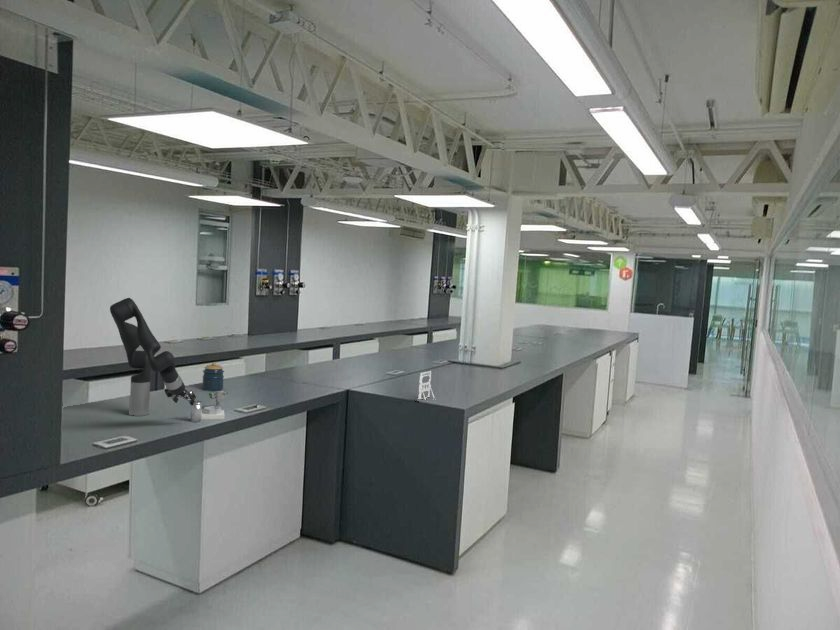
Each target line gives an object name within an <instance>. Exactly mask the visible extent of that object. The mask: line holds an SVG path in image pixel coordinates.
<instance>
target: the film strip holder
mask: <svg viewBox="0 0 840 630" xmlns="http://www.w3.org/2000/svg"><path fill="white" fill-rule="evenodd" d="M424 377H428V378H429V379H428V381H427V382H423V378H424ZM431 381H432V370H429V371H424V372H420V374H419V385H418V395H417V397H418V398H417V399H423V398H424V399H425V400H426V398H427V397H430V396H431V395H432V398H433V399H434V398H435V395H434V393H433V389H432V384H431V383H432V382H431ZM425 392H427V396H426V395H425ZM422 395H423V397H422ZM427 399H428V398H427Z"/></svg>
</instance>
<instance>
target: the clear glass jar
mask: <svg viewBox="0 0 840 630" xmlns="http://www.w3.org/2000/svg"><path fill="white" fill-rule="evenodd" d="M194 402H195V403H194V404H193V405H190V406H191V407H190V422H191V423H201V422H202V419H201V412H202V408H203V405H202V404H203V401H201V400H194ZM200 421H201V422H200Z"/></svg>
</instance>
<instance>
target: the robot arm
mask: <svg viewBox="0 0 840 630" xmlns="http://www.w3.org/2000/svg"><path fill="white" fill-rule="evenodd" d="M109 312H110V314H111V317H112V318H113V321H114V323H115V325H116V328H117V329H118V333H119V337H120V340H121V342H122V345H123V348H124V350H125V353H126V358H127V362H128V366H129V367H130V368H132V369H138V370H139V369H142V370H143V371H141V372H140V373H137V374H133V375H131V377H130V394H129V404H128V409H129V410H128V415H129V416H133V415H134V416H135V417H136V416H137V417H142V416H147V415H149V414H150V396H151V394H150V393H151V375H152V371H153V372H155V373H159V375H160V377H161V379H162V381H163V382H164V385H165V389H164V393H165V395H166V397H167V398H171V399H172V401H173V402H174V403H175V404H177V403H178V401H179V398H182V399H184V400H185V401H188V403H189V404H190V405H189V406H191V405H193V404H194V403H195V402H194V401H196V398H197V396H196V394H195V393H194V391H193V390H192V389H190V390H187V389H186V386H185V383H184V381H183V379H182V377H181V375H179V373H178V371H177V369H176V361H175V358H174V355H173V353H172V352H171V351H167V350H165V351H163V352H160V353H159V354H157V353H158V352H159V351H160V350H161V348H162V347H161V344H160V342H159V341H158V340H157V338H156V336H155V335H154V333H152V330H151V329H150V327H149V325H148V323H147V322H146V320H145V318H144V316H143V313H142V312H141V310H140V308H139V307H138V305H137V304H136V301H134V300H133V299H132V298H131V297H127V298H126V297H125V298H123V299H121V300H120V301H117V302H116V303H113V304H112V305H110V307H109ZM132 318H135V320H136V325H135V324H133V323H130V322H127V321H128V320H131V319H132ZM139 347H141V348H142V349H143V350H137V349H138V348H139ZM156 354H157V355H156Z"/></svg>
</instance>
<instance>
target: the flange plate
mask: <svg viewBox="0 0 840 630" xmlns="http://www.w3.org/2000/svg"><path fill="white" fill-rule="evenodd" d="M225 416H226V415H225V410H224V409H222V407H221V406H219V407H217V406H216V405H215V406H214V405H212V406H211V405H209V406H204V407H203V410H202V412H201V420H225Z"/></svg>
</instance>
